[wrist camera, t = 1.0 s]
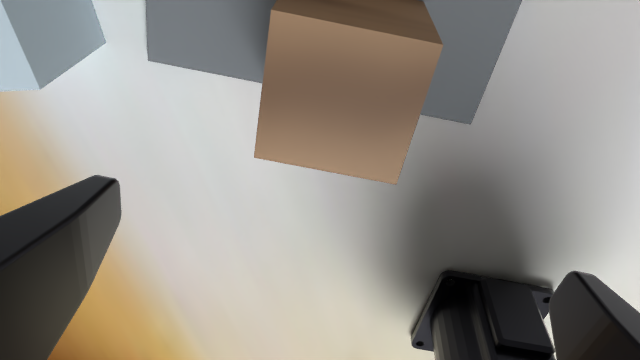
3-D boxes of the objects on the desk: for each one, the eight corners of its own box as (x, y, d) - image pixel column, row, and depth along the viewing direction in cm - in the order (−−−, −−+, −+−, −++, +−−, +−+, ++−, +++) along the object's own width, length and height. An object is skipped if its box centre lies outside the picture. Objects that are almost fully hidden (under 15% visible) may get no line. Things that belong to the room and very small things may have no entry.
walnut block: (388, 119, 20) (396, 184, 16) (275, 96, 20) (253, 157, 16) (423, 1, 17) (443, 45, 13) (292, -26, 17) (271, 9, 13)
